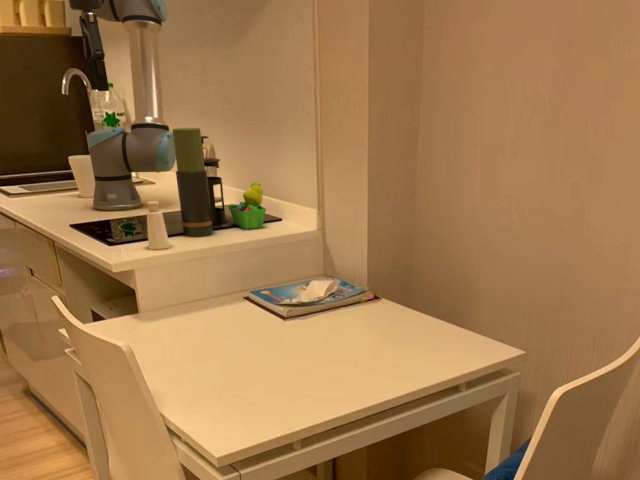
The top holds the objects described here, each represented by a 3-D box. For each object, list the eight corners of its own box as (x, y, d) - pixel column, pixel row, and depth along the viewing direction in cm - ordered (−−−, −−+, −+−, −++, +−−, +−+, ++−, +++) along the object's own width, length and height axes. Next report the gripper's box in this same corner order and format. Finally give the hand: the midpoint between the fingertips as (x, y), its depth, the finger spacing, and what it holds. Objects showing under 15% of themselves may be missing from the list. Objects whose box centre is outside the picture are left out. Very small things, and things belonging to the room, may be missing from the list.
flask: (180, 232, 192) (170, 153, 182) (209, 229, 195) (201, 152, 185) (187, 237, 185) (177, 156, 175) (216, 235, 188) (208, 155, 178)
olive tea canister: (175, 170, 183) (170, 128, 178) (200, 168, 186) (196, 127, 181) (180, 173, 178) (175, 130, 173) (207, 171, 180) (202, 129, 175)
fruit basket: (228, 224, 201) (224, 182, 196) (256, 220, 205) (253, 180, 199) (243, 230, 193) (239, 187, 187) (272, 227, 196) (269, 184, 191)
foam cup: (106, 196, 247) (99, 156, 240) (80, 199, 242) (72, 158, 236) (98, 193, 254) (91, 154, 247) (73, 195, 249) (65, 156, 243)
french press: (231, 223, 201) (222, 136, 190) (199, 226, 198) (188, 138, 186) (220, 217, 211) (211, 133, 199) (189, 219, 207) (179, 135, 196)
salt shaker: (156, 250, 173) (149, 204, 167) (144, 247, 176) (137, 202, 170) (174, 246, 176) (168, 201, 171) (162, 243, 179) (155, 199, 174)
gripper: (62, -6, 175) (80, 89, 186) (71, -16, 156) (90, 92, 166) (93, -5, 178) (108, 88, 189) (106, -15, 158) (122, 91, 169)
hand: (100, 90), depth 177 cm, fingers open, 13 cm apart
